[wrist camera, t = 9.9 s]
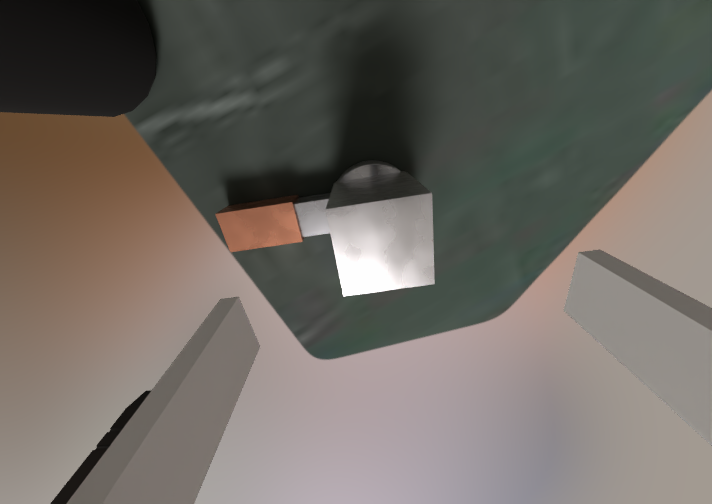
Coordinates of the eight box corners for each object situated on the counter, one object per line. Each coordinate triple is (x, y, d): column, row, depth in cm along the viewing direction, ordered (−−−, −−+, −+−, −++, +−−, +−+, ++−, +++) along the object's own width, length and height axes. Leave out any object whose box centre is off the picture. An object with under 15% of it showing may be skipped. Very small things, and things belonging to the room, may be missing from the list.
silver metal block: (334, 182, 22) (325, 209, 15) (405, 170, 22) (431, 193, 14) (346, 246, 25) (343, 296, 17) (410, 237, 24) (434, 283, 17)
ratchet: (409, 153, 24) (430, 163, 18) (414, 234, 27) (433, 266, 21) (220, 184, 25) (176, 203, 19) (248, 258, 28) (218, 295, 22)
